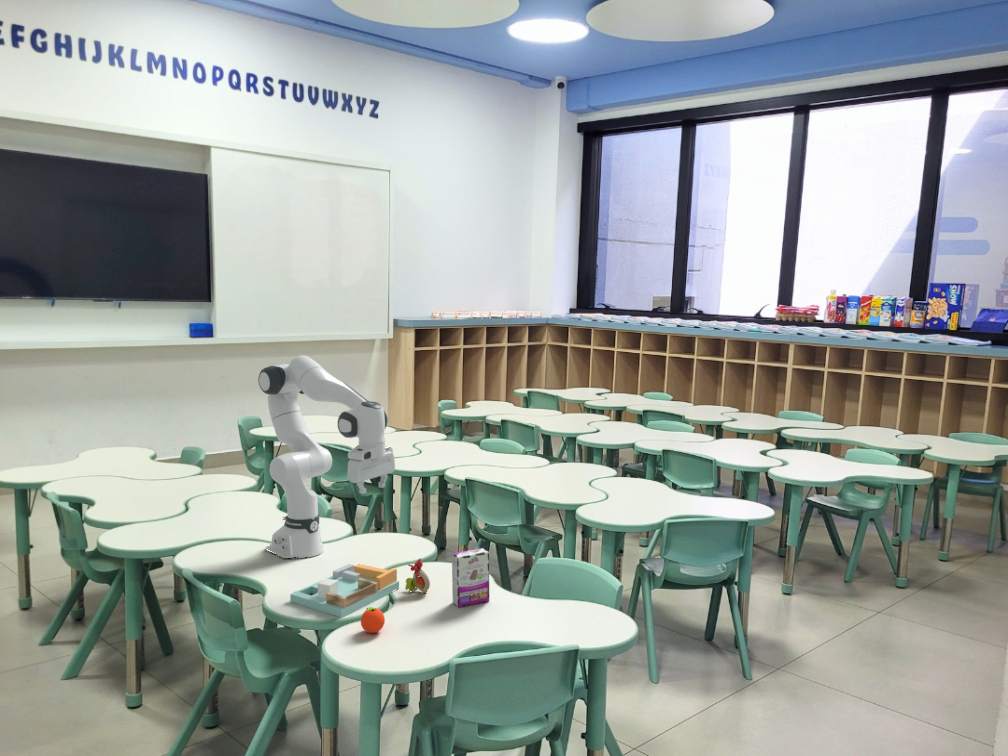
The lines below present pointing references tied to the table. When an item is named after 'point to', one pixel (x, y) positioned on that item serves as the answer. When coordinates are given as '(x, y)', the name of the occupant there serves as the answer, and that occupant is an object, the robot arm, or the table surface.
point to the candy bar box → (470, 577)
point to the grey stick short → (342, 570)
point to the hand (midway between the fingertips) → (372, 490)
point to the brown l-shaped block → (353, 594)
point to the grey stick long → (350, 576)
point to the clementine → (372, 620)
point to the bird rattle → (418, 578)
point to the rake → (377, 574)
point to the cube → (327, 587)
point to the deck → (345, 588)
